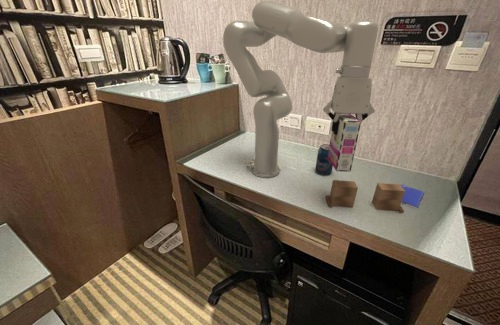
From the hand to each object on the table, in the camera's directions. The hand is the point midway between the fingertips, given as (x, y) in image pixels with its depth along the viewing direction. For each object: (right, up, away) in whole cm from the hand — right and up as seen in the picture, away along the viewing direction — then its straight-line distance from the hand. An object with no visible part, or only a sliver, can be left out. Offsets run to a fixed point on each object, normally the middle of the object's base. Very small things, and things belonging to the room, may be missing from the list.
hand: (344, 133), depth 75 cm
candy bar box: (0, -10, +5) cm, 11 cm away
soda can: (+2, -14, +28) cm, 32 cm away
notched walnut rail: (+9, -24, +8) cm, 27 cm away
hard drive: (+28, -23, +13) cm, 38 cm away
